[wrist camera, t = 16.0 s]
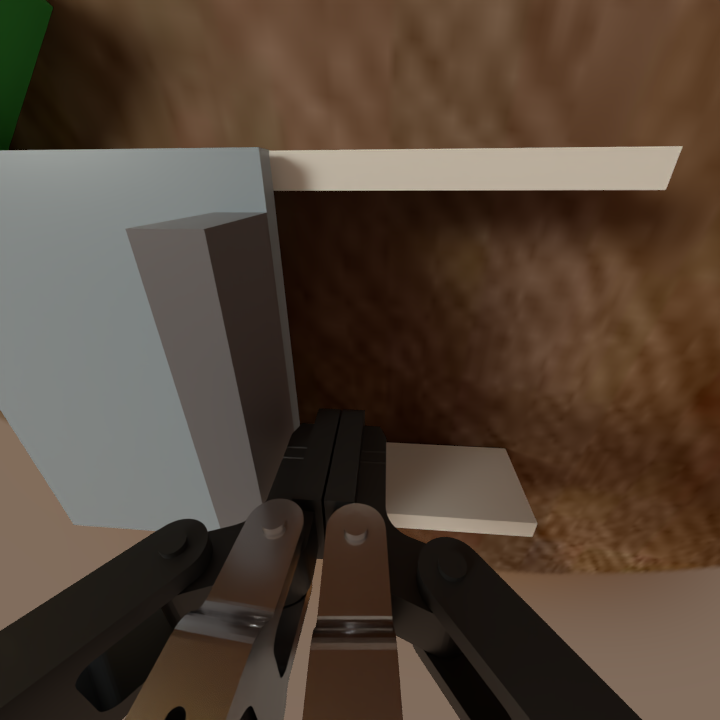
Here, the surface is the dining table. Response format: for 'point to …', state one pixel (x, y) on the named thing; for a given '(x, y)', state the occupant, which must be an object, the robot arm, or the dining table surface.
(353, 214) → the dining table surface
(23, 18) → the pipe clamp
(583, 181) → the housing
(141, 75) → the dining table surface
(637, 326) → the dining table surface
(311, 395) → the dining table surface
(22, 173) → the lid
